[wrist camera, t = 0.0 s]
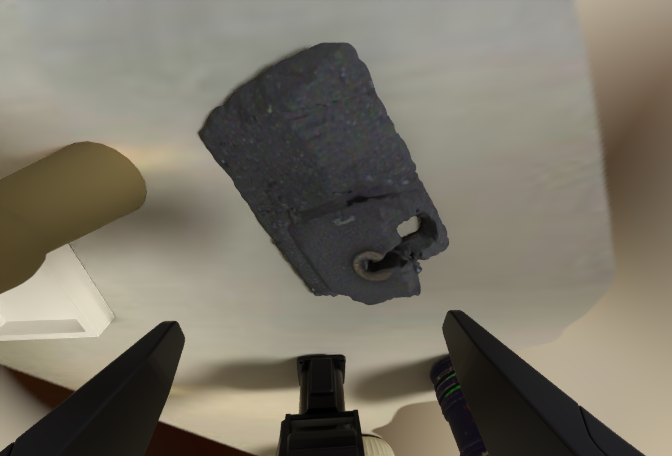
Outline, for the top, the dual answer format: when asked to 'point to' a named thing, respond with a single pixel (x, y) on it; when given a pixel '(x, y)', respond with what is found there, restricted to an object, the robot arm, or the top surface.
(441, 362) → the storage jar
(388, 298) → the dark slate chunk
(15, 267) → the olive brown pawn
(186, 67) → the top surface
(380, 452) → the canister
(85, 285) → the tray
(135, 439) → the robot arm
